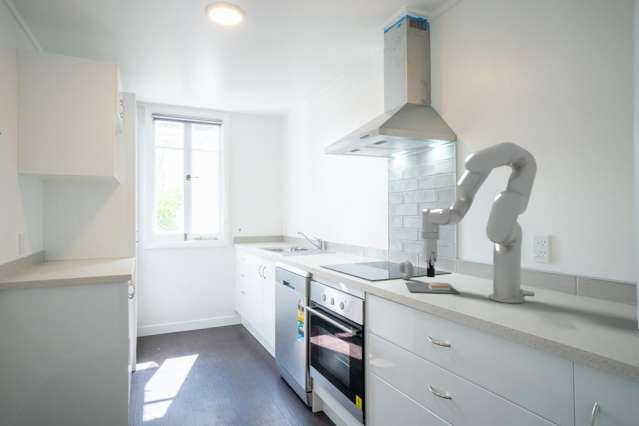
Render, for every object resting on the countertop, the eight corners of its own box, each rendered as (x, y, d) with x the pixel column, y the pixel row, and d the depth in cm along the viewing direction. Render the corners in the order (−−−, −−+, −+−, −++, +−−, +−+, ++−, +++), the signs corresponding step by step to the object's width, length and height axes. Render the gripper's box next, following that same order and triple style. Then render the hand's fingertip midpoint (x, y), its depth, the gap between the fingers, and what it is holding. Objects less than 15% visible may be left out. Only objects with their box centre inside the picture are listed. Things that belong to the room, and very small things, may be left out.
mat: (449, 284, 172) (449, 283, 172) (459, 294, 152) (459, 292, 152) (405, 283, 175) (405, 282, 175) (410, 292, 155) (410, 291, 155)
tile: (447, 282, 163) (450, 285, 157) (447, 287, 163) (450, 290, 157) (428, 282, 165) (431, 285, 158) (428, 286, 165) (431, 289, 158)
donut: (396, 278, 189) (396, 258, 189) (402, 277, 191) (402, 258, 191) (409, 281, 180) (409, 261, 180) (415, 280, 182) (415, 260, 182)
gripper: (420, 235, 172) (420, 274, 172) (424, 237, 157) (424, 279, 157) (436, 235, 171) (436, 274, 171) (442, 237, 156) (442, 280, 156)
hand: (430, 277), depth 164 cm, fingers closed
